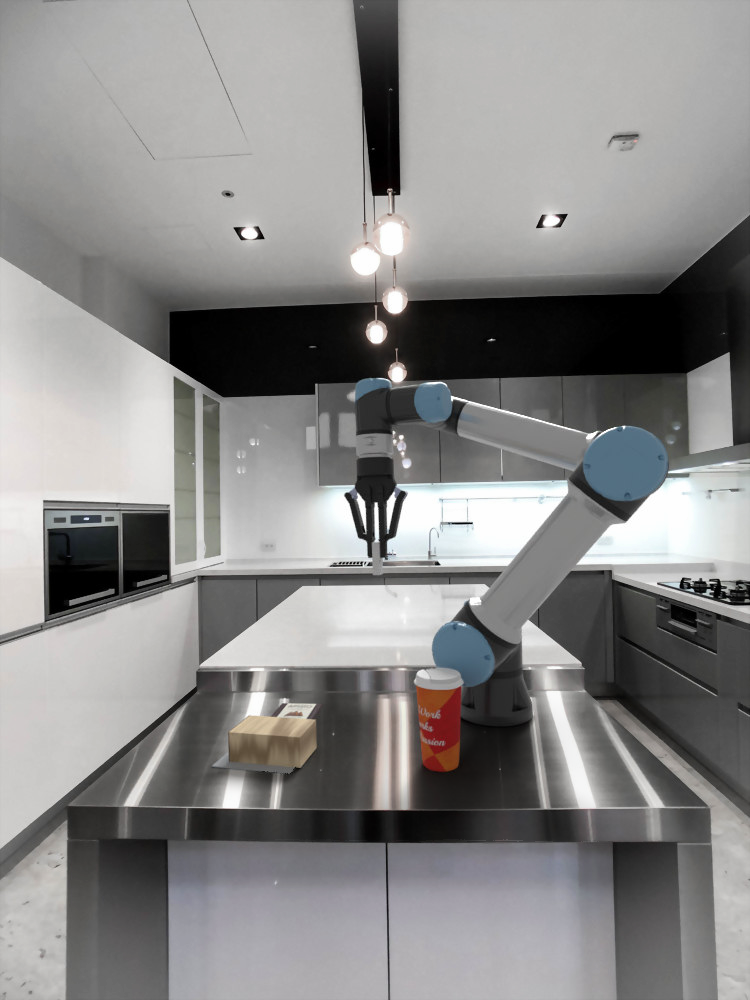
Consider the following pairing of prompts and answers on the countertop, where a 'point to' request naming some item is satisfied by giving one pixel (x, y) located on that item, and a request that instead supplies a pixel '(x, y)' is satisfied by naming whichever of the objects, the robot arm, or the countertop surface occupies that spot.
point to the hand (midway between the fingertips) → (377, 574)
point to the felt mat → (250, 766)
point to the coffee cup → (439, 717)
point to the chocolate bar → (297, 711)
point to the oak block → (272, 741)
